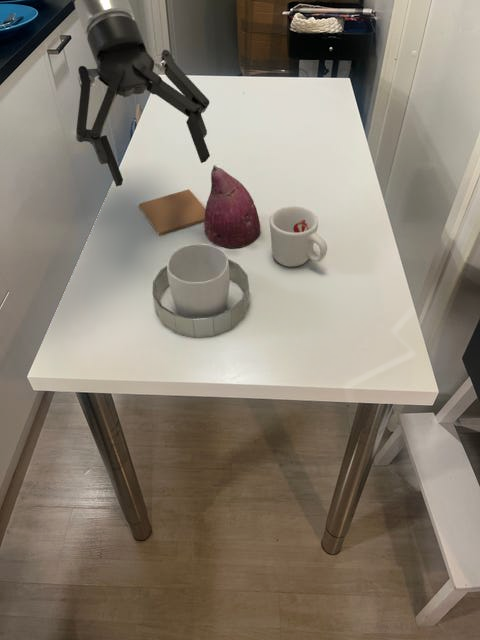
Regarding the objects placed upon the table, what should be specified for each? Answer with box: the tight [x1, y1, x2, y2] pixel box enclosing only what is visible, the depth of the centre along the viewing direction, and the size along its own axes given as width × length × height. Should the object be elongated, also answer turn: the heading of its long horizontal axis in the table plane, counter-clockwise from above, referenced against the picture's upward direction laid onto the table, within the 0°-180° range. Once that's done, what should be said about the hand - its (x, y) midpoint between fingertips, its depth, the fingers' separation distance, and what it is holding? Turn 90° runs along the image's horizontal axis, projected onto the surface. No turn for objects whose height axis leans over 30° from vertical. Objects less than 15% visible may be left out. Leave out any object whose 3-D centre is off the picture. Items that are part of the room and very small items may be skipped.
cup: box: [269, 205, 328, 267], centre depth 84 cm, size 11×8×8 cm
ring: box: [152, 258, 250, 339], centre depth 78 cm, size 15×15×4 cm
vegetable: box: [203, 164, 261, 249], centre depth 88 cm, size 10×10×15 cm
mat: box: [138, 188, 206, 236], centre depth 97 cm, size 11×11×1 cm
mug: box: [166, 243, 231, 318], centre depth 76 cm, size 13×9×10 cm
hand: (163, 171), depth 73 cm, fingers open, 13 cm apart
